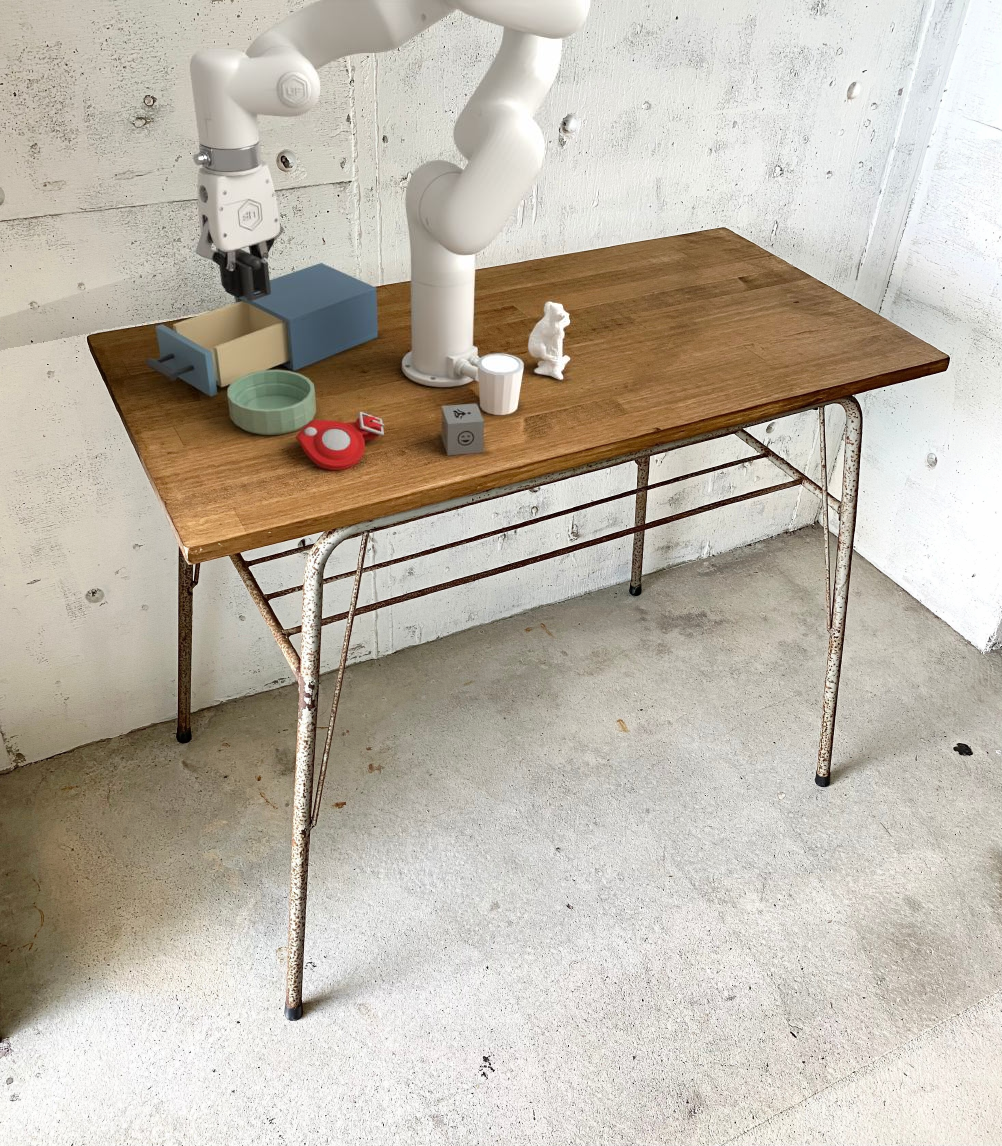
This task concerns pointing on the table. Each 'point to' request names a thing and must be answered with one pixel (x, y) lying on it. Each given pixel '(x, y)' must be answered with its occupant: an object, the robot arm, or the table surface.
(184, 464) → the table surface
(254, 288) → the grey roller rack
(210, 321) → the drawer
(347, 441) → the tracker holder
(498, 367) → the white faceted cup
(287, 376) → the bowl
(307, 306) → the cabinet
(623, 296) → the table surface
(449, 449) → the dice cube
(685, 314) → the table surface
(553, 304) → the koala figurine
